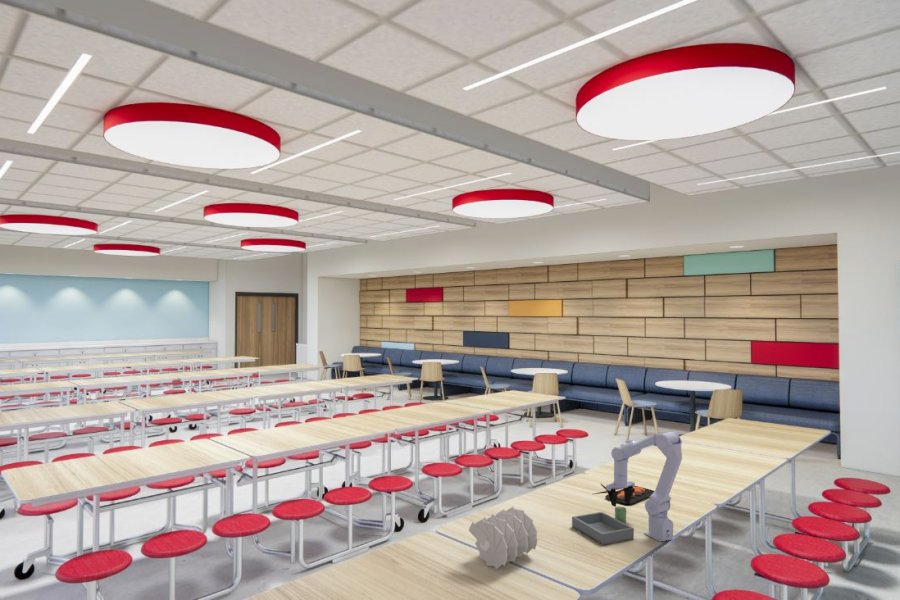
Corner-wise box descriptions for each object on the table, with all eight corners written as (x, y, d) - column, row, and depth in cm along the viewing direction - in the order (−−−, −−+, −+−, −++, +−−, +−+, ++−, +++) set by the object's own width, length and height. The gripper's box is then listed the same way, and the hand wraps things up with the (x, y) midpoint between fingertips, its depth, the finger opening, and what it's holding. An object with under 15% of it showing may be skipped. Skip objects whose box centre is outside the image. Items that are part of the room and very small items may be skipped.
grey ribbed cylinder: (532, 563, 206) (492, 583, 188) (500, 531, 218) (459, 547, 200) (551, 525, 202) (512, 541, 184) (517, 494, 213) (477, 507, 195)
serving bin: (633, 539, 220) (633, 528, 220) (602, 545, 214) (602, 534, 214) (601, 521, 238) (601, 511, 239) (572, 527, 232) (572, 516, 232)
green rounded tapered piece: (628, 523, 238) (628, 509, 238) (620, 524, 236) (620, 510, 236) (621, 519, 242) (621, 505, 242) (612, 520, 240) (612, 507, 240)
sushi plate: (629, 508, 258) (629, 500, 258) (576, 492, 280) (576, 485, 280) (658, 495, 277) (658, 488, 277) (607, 481, 299) (607, 474, 299)
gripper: (627, 469, 246) (626, 499, 246) (601, 473, 240) (601, 503, 240) (638, 474, 240) (638, 504, 239) (612, 477, 234) (612, 509, 233)
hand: (620, 504), depth 239 cm, fingers open, 7 cm apart
